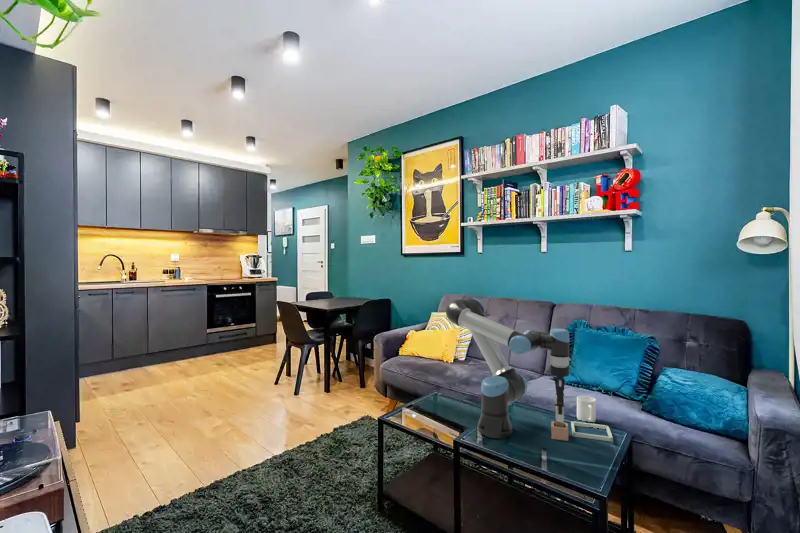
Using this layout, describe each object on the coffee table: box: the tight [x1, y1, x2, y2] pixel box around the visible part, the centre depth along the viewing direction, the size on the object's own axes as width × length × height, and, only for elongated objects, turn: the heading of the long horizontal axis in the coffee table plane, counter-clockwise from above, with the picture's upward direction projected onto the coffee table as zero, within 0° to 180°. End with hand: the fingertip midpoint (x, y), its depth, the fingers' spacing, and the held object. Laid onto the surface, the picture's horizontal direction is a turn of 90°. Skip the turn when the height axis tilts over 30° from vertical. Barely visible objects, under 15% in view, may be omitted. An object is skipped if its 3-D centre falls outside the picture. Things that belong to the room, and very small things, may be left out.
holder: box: [550, 420, 569, 442], centre depth 170 cm, size 7×7×6 cm
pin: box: [555, 397, 565, 428], centre depth 170 cm, size 3×3×16 cm
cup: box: [576, 395, 597, 423], centre depth 189 cm, size 8×12×10 cm
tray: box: [570, 420, 614, 445], centre depth 174 cm, size 15×13×2 cm
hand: (559, 416), depth 170 cm, fingers open, 12 cm apart
